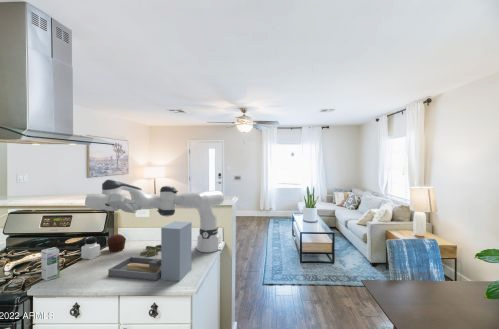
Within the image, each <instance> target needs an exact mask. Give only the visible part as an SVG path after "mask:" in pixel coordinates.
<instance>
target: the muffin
mask: <svg viewBox="0 0 499 329" xmlns="http://www.w3.org/2000/svg"><path fill="white" fill-rule="evenodd" d="M126 241H127V238H126V237H125V235H123V234H120V233H119V234H112V235H111V236H110V237H109V238H108V239H107V240H106V243H107V247H108V251H109V252H110V253H118V252H122V251H124V250H125V246H126ZM123 249H124V250H123Z"/></svg>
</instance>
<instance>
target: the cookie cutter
mask: <svg viewBox="0 0 499 329" xmlns="http://www.w3.org/2000/svg"><path fill="white" fill-rule="evenodd" d="M145 250H146V251H142V252H140V256H142V257H143V256H146V258H151V257H156V256H158V254H159V252H161V244H156V245H155V246H151V245H146V246H145ZM155 255H156V256H155Z"/></svg>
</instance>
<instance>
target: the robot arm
mask: <svg viewBox="0 0 499 329" xmlns="http://www.w3.org/2000/svg"><path fill="white" fill-rule="evenodd" d="M122 190H123V191H126V192H129V195H130V198H131V199H130V198H127V197H126V196H125V195H123V194H121V191H122ZM159 192H160V193H159V196H158V194H154V193H150V192H149V193H148V192H144V191H143V190H142V188H141V187H138V186H135V185H133V184H127V183H126V182H125V183H124V182H121V181H119V180H116V179H106V180H105V181H104V182H102V184H101V193H89V194H87V195H86V197H85V201H84V206H85V207H86V208H87V209H92V210H98V211H100V212H106V213H107V212H117V211H119V210H121V211H122V212H125V213H128V214H129V213H131V214H136V213H137V211H142V210H150V209H157V210H156V212H158V214H159V215H160V216H162V217H167V218H169V217H172V216H174V215H175V213H176V207H178V208H181V209H182V208H183V209H196V210H197V212H198V214H199V226H200V227H199V231H198V232H199V235H197V240H196V241H197V242H196V243H197V244H196V246H195V247H194V248H195V249H196V250H197V251H199V252H202V253H214V252H218V251H222V250H223V247H224V244H225V242H224V241H223V240H221V235H220V234H219V232H218V231H219V226H218V225H217V224H218V218H217V214H215V213H213V208H215V207H218V206H219V205H222V204H223V202H224V200H225V195H224V193H222V192H223V191H222V192H221V191H220V190H206V191H195V192H183V193H178V192H179V191H178V190H177V189H176V188H175V187H174V186H172V185H169V184H168V185H164V186H162V187H160V190H159Z"/></svg>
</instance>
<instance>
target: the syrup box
mask: <svg viewBox="0 0 499 329" xmlns="http://www.w3.org/2000/svg"><path fill="white" fill-rule="evenodd" d="M40 255H41V256H40V257H41V258H40V260H41V279H42V280H45V282H47V281H50V280H53V279H56V278H60V274H61V273H60V248H58V247H56V246H55V247H51V248H46V249H41V251H40Z"/></svg>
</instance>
